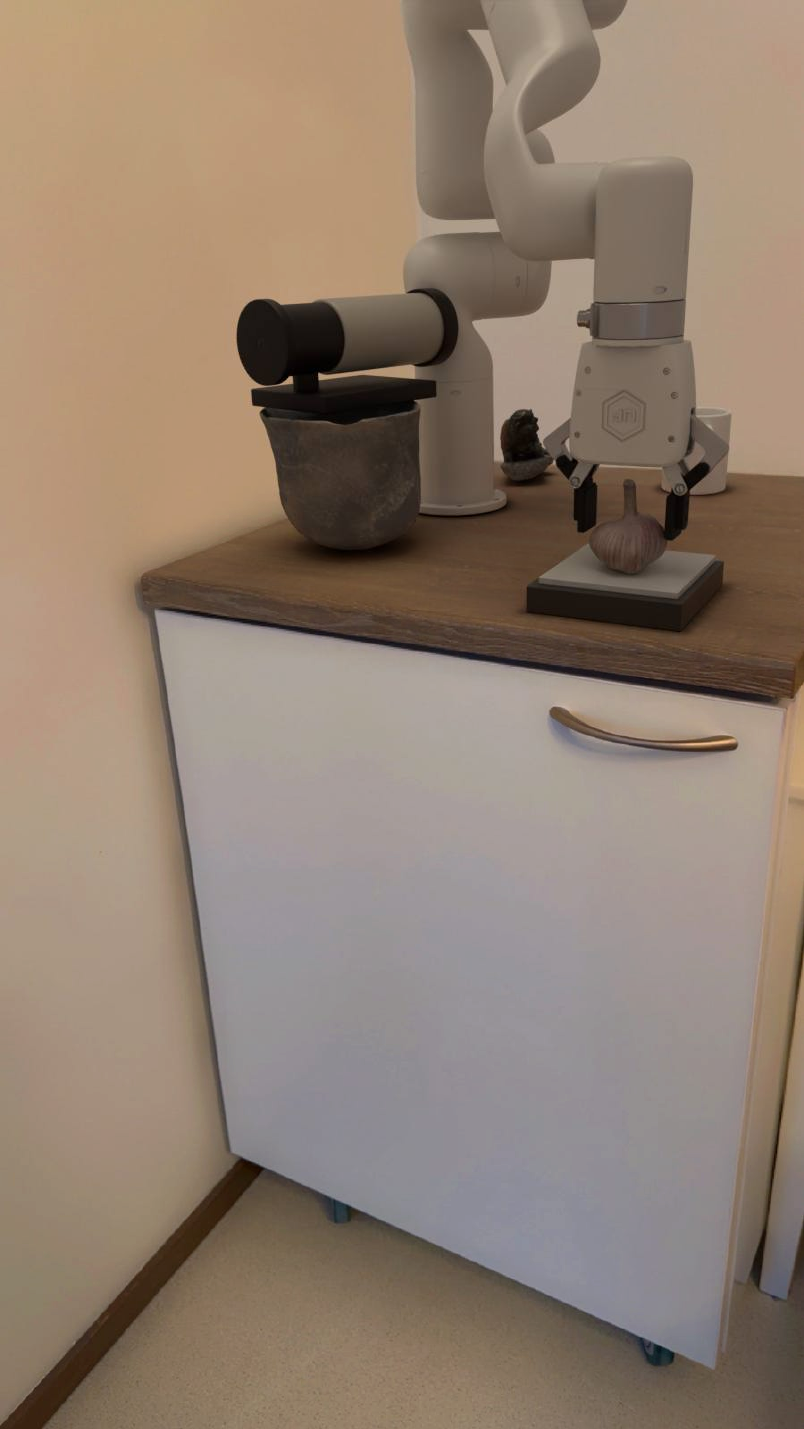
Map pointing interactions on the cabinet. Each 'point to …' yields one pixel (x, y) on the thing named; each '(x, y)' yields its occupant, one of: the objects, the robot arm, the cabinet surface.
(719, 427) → the mug
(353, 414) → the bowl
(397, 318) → the light fixture
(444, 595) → the cabinet surface
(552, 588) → the scale
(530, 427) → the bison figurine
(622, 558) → the garlic bulb
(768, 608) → the cabinet surface
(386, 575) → the cabinet surface
